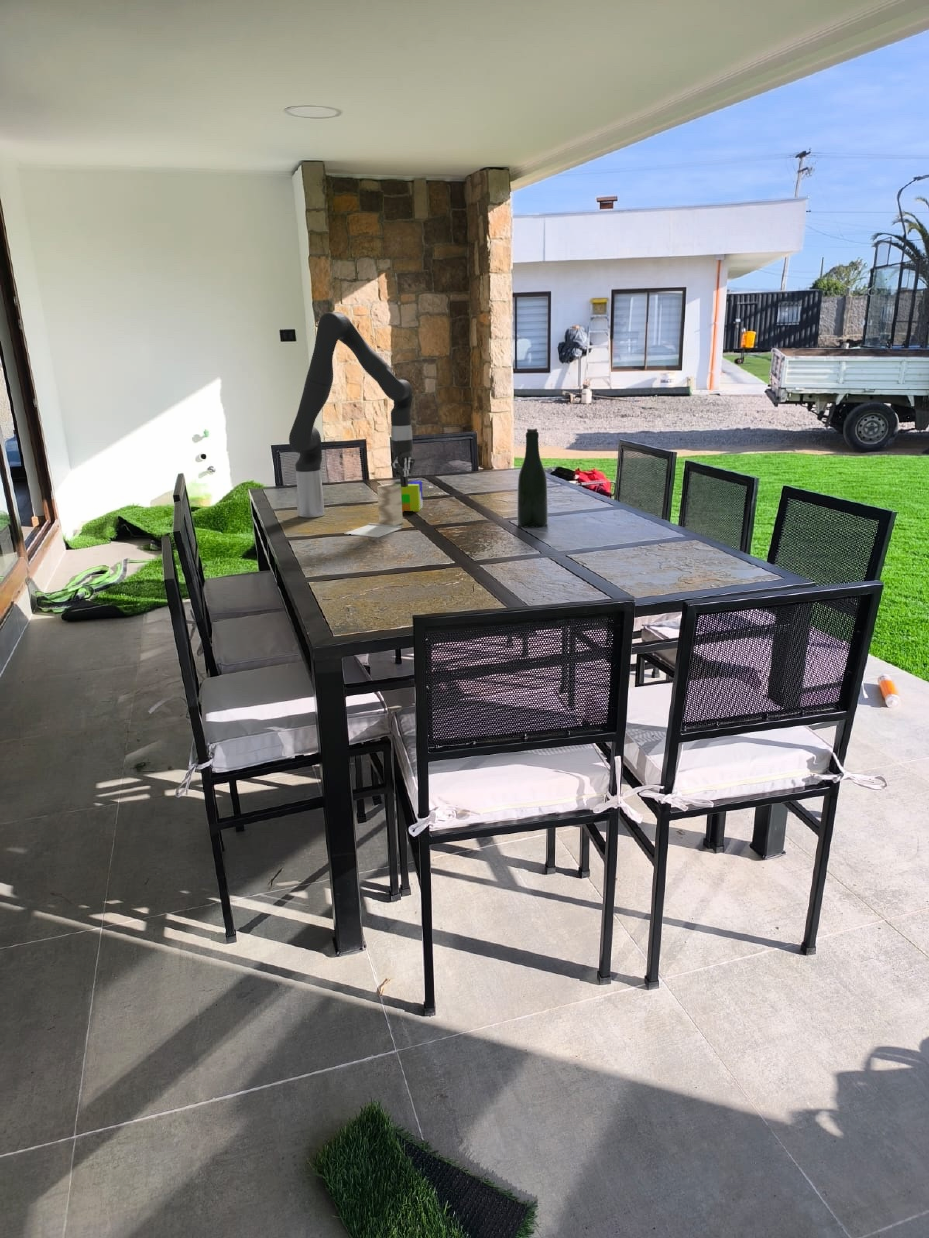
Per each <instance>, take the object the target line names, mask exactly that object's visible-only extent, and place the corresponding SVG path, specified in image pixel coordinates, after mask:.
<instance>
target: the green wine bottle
mask: <svg viewBox="0 0 929 1238" xmlns="http://www.w3.org/2000/svg"><path fill="white" fill-rule="evenodd" d="M539 436H540V435H539V432H538V429H537V427H536V428H534V427H532V428H531V427H529V428H527V429H526V433H525V452H524V458H523V462H522V465H521V467H520V470H519V473H518V477H517V478H518V480H517V502H516V504H517V508H516V509H517V516H516V517H517V524H518V525H519V527H523V528H541V527H546V525H547V524H548V482H547V474H546V471H545V468H544V465H543V462H542V460H541V455H540V451H539V450H540V447H539V446H540V444H539Z"/></svg>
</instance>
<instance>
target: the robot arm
mask: <svg viewBox="0 0 929 1238" xmlns="http://www.w3.org/2000/svg"><path fill="white" fill-rule="evenodd" d="M339 341H340V342H341V343H342V344H344V345H345V346H347V348H348V349H349V350H350V351H352V353H353V354H354V355H355V357H356V360H357V361H358V362H359V364H360V366H361V367H362V368H363V370H364V371H365V372H366V373H367V374H368V375H369V376H370V377H371V378H372V379H373V380H374V381H375V382H377V385H378V386H379V388H381V390H382V391H383V393H384V394H385V395H386V396H387V398H389V399H390V400H392V401H393V407H392V409H391V411H390V425H391V426H390V441H391V451H392V453H394V456H393V457H394V461H393V462H391V463H390V466H391V468H392V470H393V472H394V474H395V476H398V477H399V478H400V484H401V487H407V486H408V481H409V477H408V476H409V474H411V475H412V471H413V468H414V465H415V461H416V459H415V458H412V453H411V452H413V451H414V443H413V428H412V420H411V419H412V418H411V417H412V416H411V407H412V402H413V388H412V385H411V383H410V382H409V381H407V380H406V379H401V378H400V379H398V378H397V377H396V376H395V374H393V370H392V368H391V366H390V365H389V364H388V363H387V362H386V361H385V360H384V359H383V358H382V357H381V356H380V355H379V354H378V353H377V352H376V351H375V350H374V348H372V347H371V346H370V344H369V343H368V342H367V341H366V340H365V339H364V338H363V336H362V334H361V333H360V332H359V331H358V329H356V326H355V325H354V324H353V323H352V321H351V319H350V318H349V317H348V316H347V315H346V314H344V313H342V312H340V311H335V312H334V311H328V312H326V313H324V314H322V315H321V317H320V318H319V319H318V322H317V327H316V335H315V343H314V349H313V352H312V355H311V359H310V363H309V368H308V371H307V374H306V379H305V382H304V386H303V390H302V394H301V398H300V402H299V405H298V411H297V413H296V417H295V418H294V421H293V425H292V427H291V430H290V431H289V432H290V433H289V437H288V442H289V446H290V448H291V450H292V451H294V452H295V453H298V454H299V458H298V460H297V461H296V462H295V476H296V477H295V478H296V487H297V490H296V491H295V498H296V508H297V510H296V511H297V516H299V517H301V518H319V517H323V516H325V504H324V503H325V502H324V493H323V491H324V489H323V482H322V468H321V464H322V462H323V456H322V455H323V450H322V449H323V448H322V447H323V446H322V438H321V434H320V431H319V430H318V428H316V427H315V426H314V425H315V422H316V419H317V417H318V415H319V413H320V412H321V411H322V410H323V407H324V406H325V404H326V402H327V400H328V399H329V396H330V395H331V394H330V393H331V390H332V386H333V381H334V367H333V365H334V364H333V361H334V359H333V358H334V352H335V350H336V346H337V343H338V342H339Z"/></svg>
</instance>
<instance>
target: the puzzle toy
mask: <svg viewBox="0 0 929 1238" xmlns="http://www.w3.org/2000/svg"><path fill="white" fill-rule="evenodd" d="M422 483H423V482H422V480H413V481H411V480H410V481H409V480H408V486H407V487H401V498H402V513H404V511H413V512H420V511H419V510H420V509H422V508H423V507H424V504H423V503H424V501H423V484H422ZM393 484H396V485H401V484H400V481H399V480H398V481H395V482H394V483H393Z"/></svg>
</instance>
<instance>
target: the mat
mask: <svg viewBox="0 0 929 1238" xmlns="http://www.w3.org/2000/svg"><path fill="white" fill-rule="evenodd" d="M400 530H403V525H398V526H396V525H386V524H379V523H376V522H375V523H373V522H368V524H367V525H363V526H361V527H358V528H356V529H355V528H354V529H352V530H349V531H346V532H343V533H344V535H349V534H351V535H352V536H360V537H371V538H380V537H384V536H386V535H388V534H391V533H394V532H396V531H400Z"/></svg>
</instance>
